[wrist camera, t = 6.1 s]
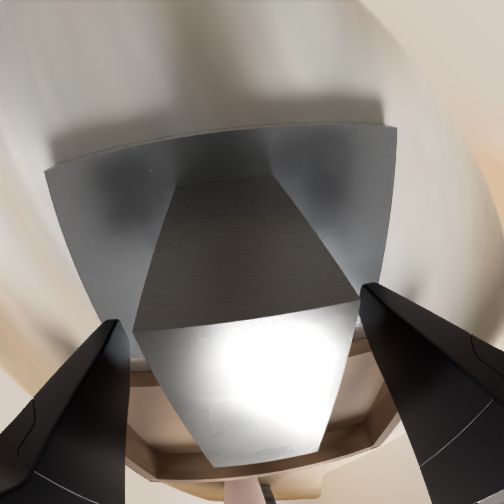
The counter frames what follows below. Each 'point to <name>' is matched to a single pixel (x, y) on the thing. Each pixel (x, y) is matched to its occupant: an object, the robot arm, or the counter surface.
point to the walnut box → (201, 470)
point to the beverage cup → (267, 494)
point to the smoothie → (243, 492)
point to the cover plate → (148, 168)
